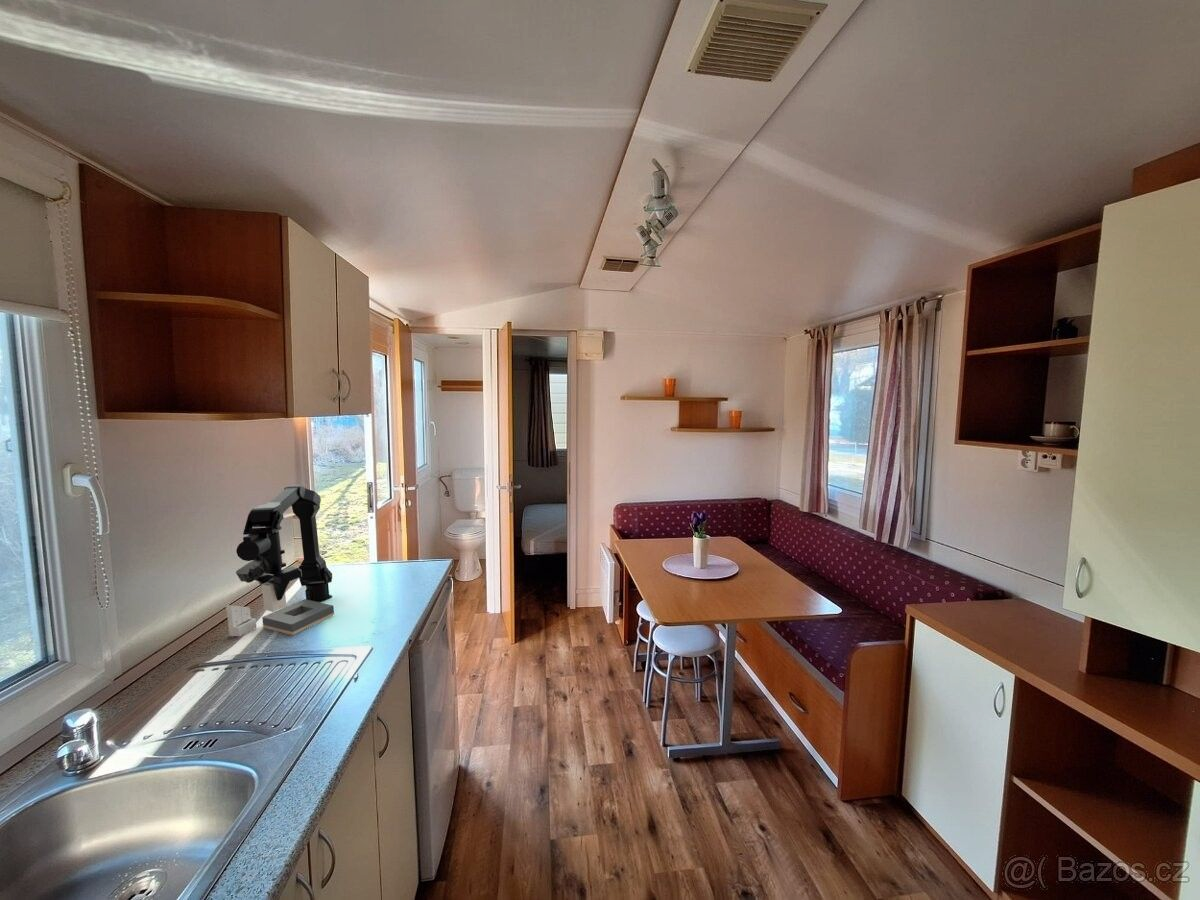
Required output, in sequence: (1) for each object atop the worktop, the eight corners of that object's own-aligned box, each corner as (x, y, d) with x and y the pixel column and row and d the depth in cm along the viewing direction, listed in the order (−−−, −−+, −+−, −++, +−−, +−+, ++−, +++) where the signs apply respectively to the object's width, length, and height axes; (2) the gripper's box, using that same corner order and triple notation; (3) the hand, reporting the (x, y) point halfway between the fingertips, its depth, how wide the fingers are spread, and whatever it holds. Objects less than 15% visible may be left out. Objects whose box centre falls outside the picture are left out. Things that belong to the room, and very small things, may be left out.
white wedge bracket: (214, 635, 139) (226, 604, 142) (243, 636, 148) (253, 607, 151) (224, 636, 138) (235, 605, 142) (253, 637, 147) (263, 608, 151)
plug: (277, 604, 143) (274, 575, 142) (286, 606, 142) (283, 577, 141) (264, 609, 140) (261, 580, 139) (273, 611, 138) (269, 582, 137)
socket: (305, 608, 161) (304, 599, 161) (334, 615, 156) (333, 605, 156) (263, 627, 149) (262, 617, 148) (292, 635, 143) (291, 624, 143)
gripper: (219, 553, 135) (225, 605, 137) (260, 562, 127) (267, 616, 129) (259, 542, 145) (265, 590, 147) (300, 549, 138) (305, 599, 140)
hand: (274, 598), depth 140 cm, fingers closed on plug, 4 cm apart
